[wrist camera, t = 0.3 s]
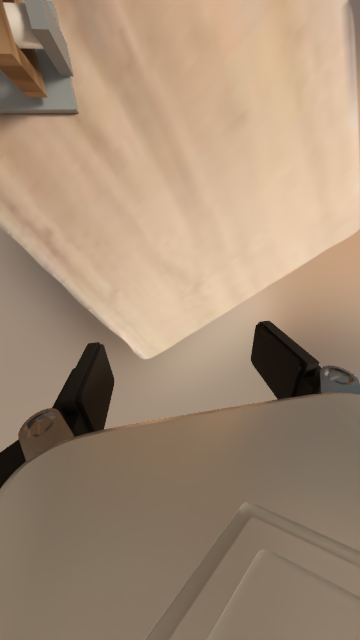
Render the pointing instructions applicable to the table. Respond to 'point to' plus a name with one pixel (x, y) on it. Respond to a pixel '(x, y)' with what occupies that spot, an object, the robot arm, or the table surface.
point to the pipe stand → (39, 60)
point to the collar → (19, 60)
